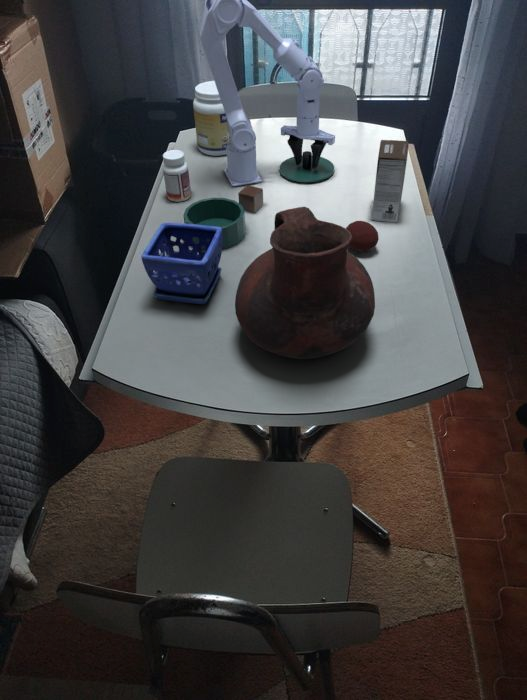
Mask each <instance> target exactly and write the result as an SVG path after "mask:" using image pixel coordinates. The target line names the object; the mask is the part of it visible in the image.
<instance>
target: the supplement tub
mask: <svg viewBox="0 0 527 700" xmlns="http://www.w3.org/2000/svg"><path fill="white" fill-rule="evenodd" d="M194 96H195V97H194V99H193V102H192V107H193V116H194V125H195V126H194V127H195V135H196V143H197V144H196V145H197V149H198V150H199V151H200V152H201V153H203V154H205V155H207V156H215V157H217V156H218V157H219V156H225V155H226V156H227V152H226V148H227V143H228V142H229V139H230V136H229V132H228V130H227V127H226V124H227V117H226V114H225V111H224V108H223V105H222V102H221V99H220V96H219V93H218V90H217V87H216V84H215V81H214V80H209V81H204V82H201V83H198V84H197V85H196V86H195V88H194Z"/></svg>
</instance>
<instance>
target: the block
mask: <svg viewBox="0 0 527 700" xmlns="http://www.w3.org/2000/svg"><path fill="white" fill-rule="evenodd" d="M237 195H238V203H239V204H241V205H242V207H243V209H244V211H245V212H249V213H253V214H255V213H257V212H258V210H260V209H261V208H262V207H263V206H264V188H262V187H257V186H253V185H250V184H246V185H245V186H244V187H243V188H242V189H241V190H240V191H238V192H237Z"/></svg>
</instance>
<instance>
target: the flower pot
mask: <svg viewBox="0 0 527 700" xmlns="http://www.w3.org/2000/svg"><path fill="white" fill-rule="evenodd" d="M172 237H173V238H175V241H174V240H172ZM193 237H198V238H199V242H198V243H196V242H194V241H193ZM207 239H209V240H207ZM182 241H183V242H182ZM222 245H223V231H222V228H221V227H214V226H206V225H196V224H185V223H184V222H183V223H181V222H162V223H161V224H160V225H159V226H158V228H157V229H156V231H155V232H154V234H153V235H152V237H151V238H150V241H149V242H148V243H147V246H146V247H145V249H143V252H142V254H141V263H142V265H143V267H144V270H145V272H146V274H147V276H148V278H149V280H150V281H151V282H152V284H153V285H154V286H155V289H154V291H153V294H152V295H153V296H154V297H155V298H156V299H159V300H162V301H163V300H164V301H173V302H180V303H185V304H186V303H188V304H196V305H205V304H206V303H207V302H208V300H209V299H210V296H211V295H212V292H213V290H214V289H215V286H216V284H217V282H218V280H219V277H220V275H221V273H222V267H220V262H221V258H222V257H221V256H222V252H223V249H222ZM201 246H205V247H206V250H204V249H202V248H201ZM174 247H178V250H177V251H176V250H174ZM190 247H191V248H192V249H189V248H190Z"/></svg>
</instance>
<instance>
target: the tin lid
mask: <svg viewBox="0 0 527 700" xmlns="http://www.w3.org/2000/svg"><path fill="white" fill-rule="evenodd" d="M278 169H279V173H280V174H281V175H282V177H284V178H285V179H287V180H290V181H293V182H296V183H297V182H298V183H316V182H321V181H324V180H326V179H328V178H330V177H331V176H332V175H333V174H334V172H335V165H334V164H333V162H332V161H331V160H329V159H327V158H325V157H322V156H320V159H319V163H318V166H317V167H316V168H315V169H313V168H312V151H310V150H306V151H302V162H301V163H300V164H299V165H296V162H295V158H294V156H292V157H289V158H286V159H285V160H283V161H282V162H281V163H280V164H279V167H278Z"/></svg>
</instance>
